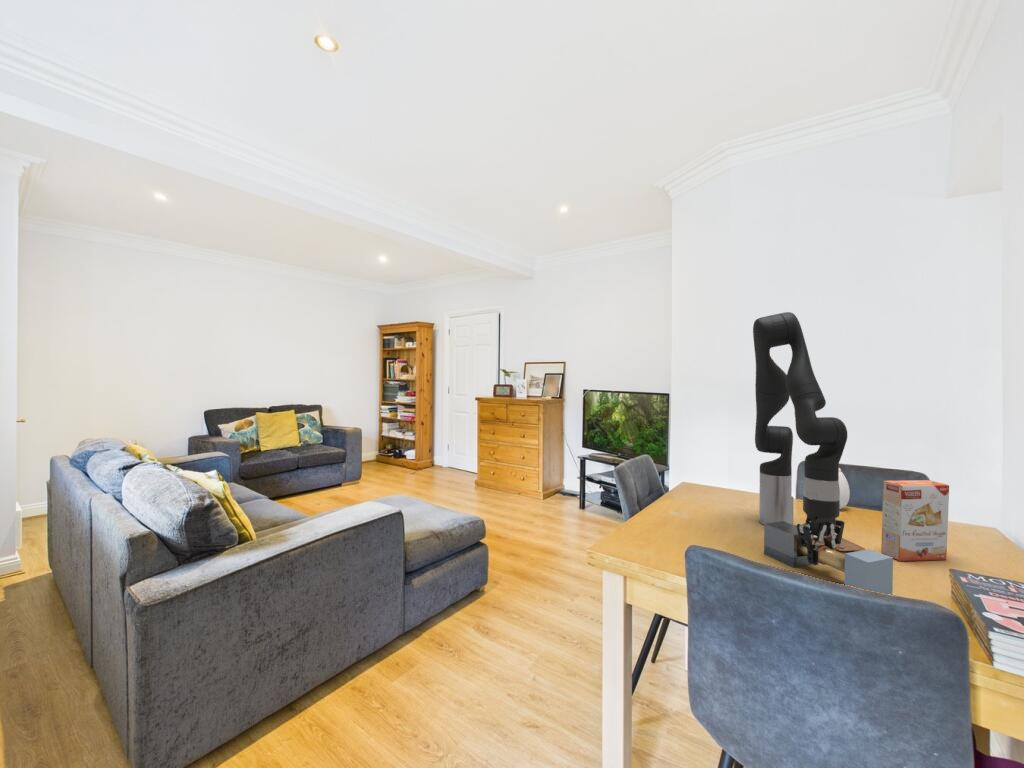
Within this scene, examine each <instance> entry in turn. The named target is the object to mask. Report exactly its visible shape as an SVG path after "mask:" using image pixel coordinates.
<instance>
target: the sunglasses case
mask: <svg viewBox="0 0 1024 768" xmlns="http://www.w3.org/2000/svg"><path fill="white" fill-rule="evenodd" d="M835 536H836V537H837V534H836V533H835ZM827 540H828V539H827ZM819 544H822V545H825V544H823V541H822V542H820V543H819ZM866 549H867V548H865V547H862V546H860V545H858V544H856V543H854V542H852V541H850V540H849V539H848V540H847V539H845V538H843V537H842V539H841V543H840V544H836V547H835V548H834V551H837V552H840V553H842V554H845V553H850V552H856V551H861V550H866Z"/></svg>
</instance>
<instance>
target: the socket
mask: <svg viewBox="0 0 1024 768" xmlns="http://www.w3.org/2000/svg"><path fill="white" fill-rule="evenodd" d="M865 549H866V550H861V551H856V552H850V553H845V572H844V584H845V585H849V586H853V587H856V588H861V589H864V590H869V591H874V592H879V593H884V594H891V595H893V592H894V590H893V589H894V588H893V584H894V583H893V580H894V576H893V575H894V558H893V557H890V556H887V555H885V554H883V553H881V552H878V551H876V550H872V549H870V548H865Z"/></svg>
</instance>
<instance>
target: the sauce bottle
mask: <svg viewBox="0 0 1024 768" xmlns="http://www.w3.org/2000/svg"><path fill="white" fill-rule="evenodd" d="M838 480H839V488H840V510H842V509H843V508H845V507H846V506H847V505H848V503H849V500H850V495H851V493H850V492H851V490H850V485H849V482H848V480H847V478H846V476H845V474H844V473H843V471H842V469H841V468H840V467H839V479H838Z"/></svg>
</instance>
